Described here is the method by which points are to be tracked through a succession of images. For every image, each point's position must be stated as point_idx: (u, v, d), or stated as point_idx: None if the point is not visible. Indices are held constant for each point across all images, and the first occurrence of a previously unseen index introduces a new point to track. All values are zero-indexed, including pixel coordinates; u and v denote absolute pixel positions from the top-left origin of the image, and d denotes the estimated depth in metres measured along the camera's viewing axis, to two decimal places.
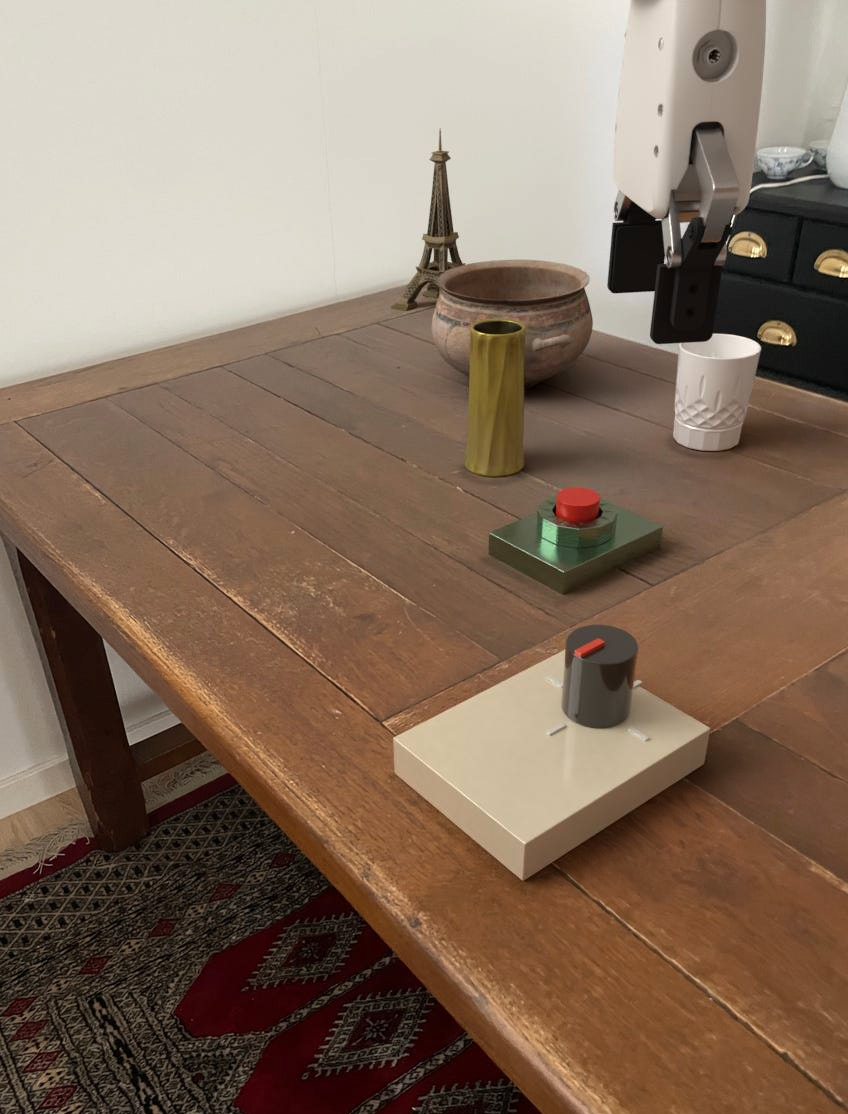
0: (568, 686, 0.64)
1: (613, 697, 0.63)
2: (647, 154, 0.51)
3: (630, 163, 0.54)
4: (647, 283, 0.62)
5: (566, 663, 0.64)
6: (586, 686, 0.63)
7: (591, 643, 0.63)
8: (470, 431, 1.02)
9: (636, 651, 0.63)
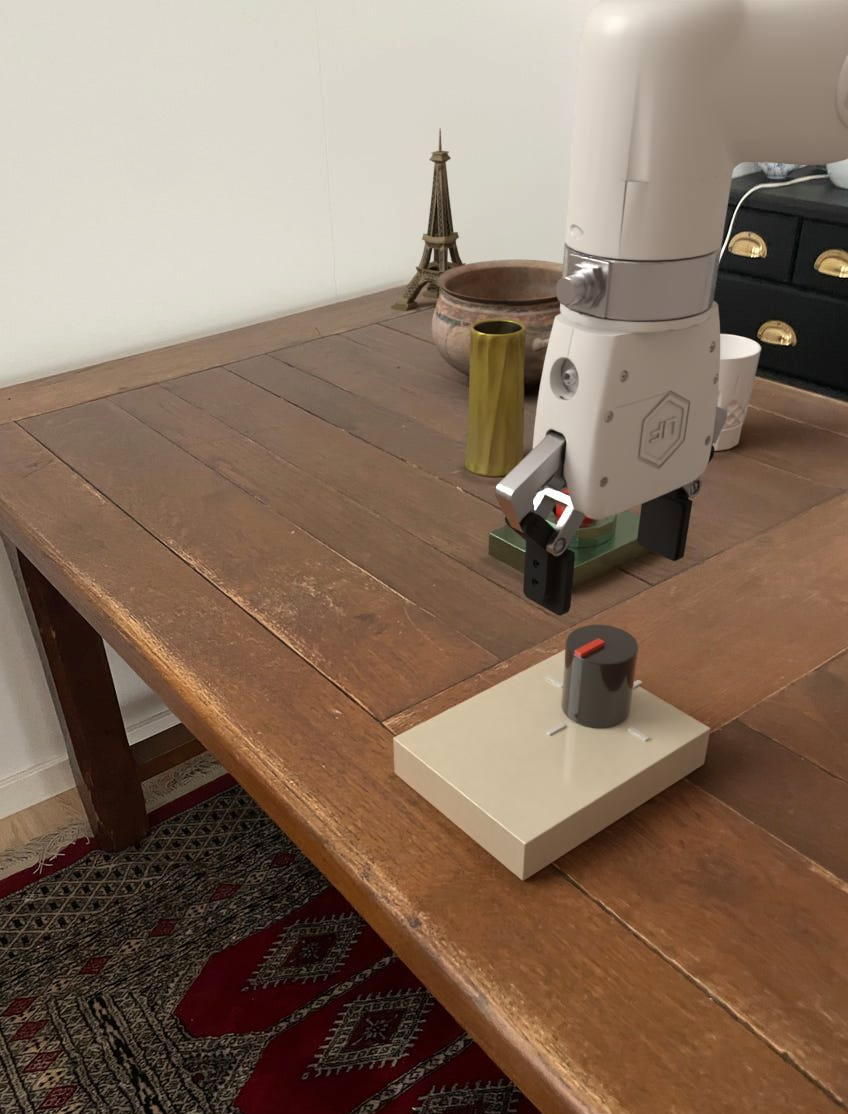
0: (568, 686, 0.64)
1: (613, 697, 0.63)
2: None
3: None
4: (664, 550, 0.62)
5: (566, 663, 0.64)
6: (586, 686, 0.63)
7: (591, 643, 0.63)
8: (470, 431, 1.02)
9: (636, 651, 0.63)
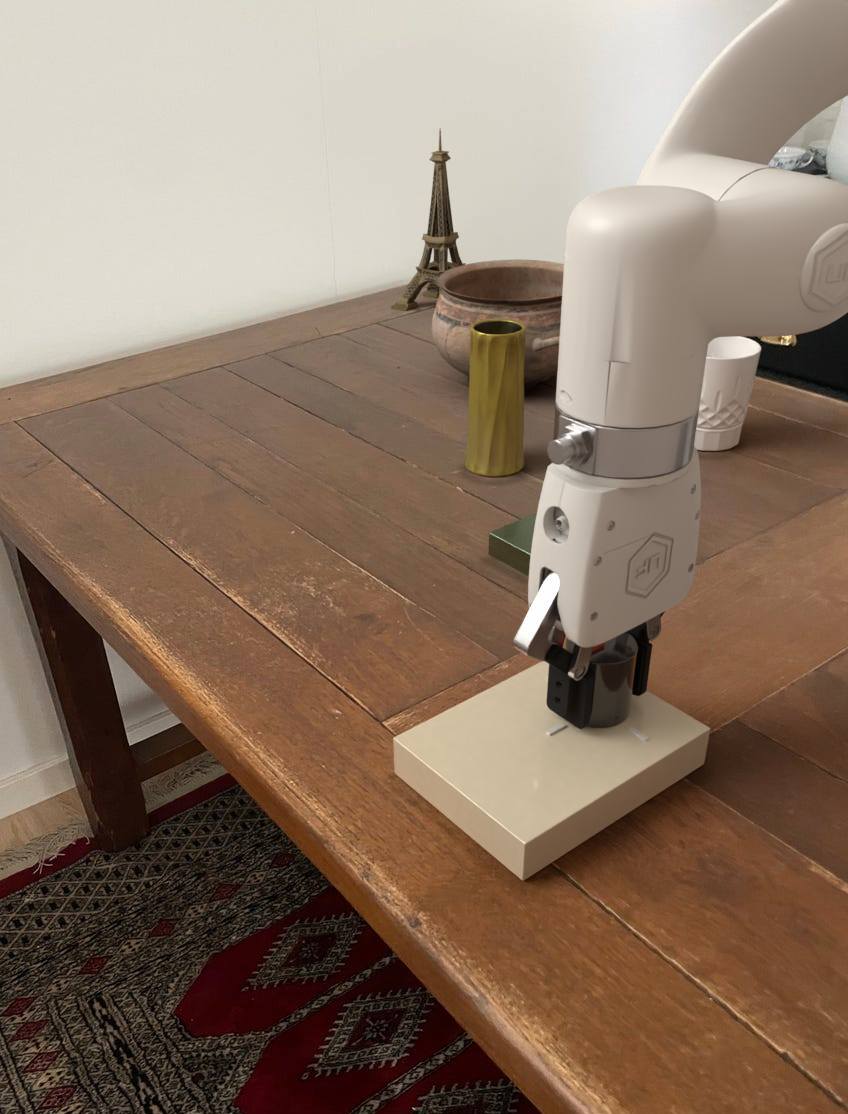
0: None
1: (613, 697, 0.63)
2: None
3: None
4: None
5: None
6: None
7: None
8: (470, 431, 1.02)
9: (636, 651, 0.63)
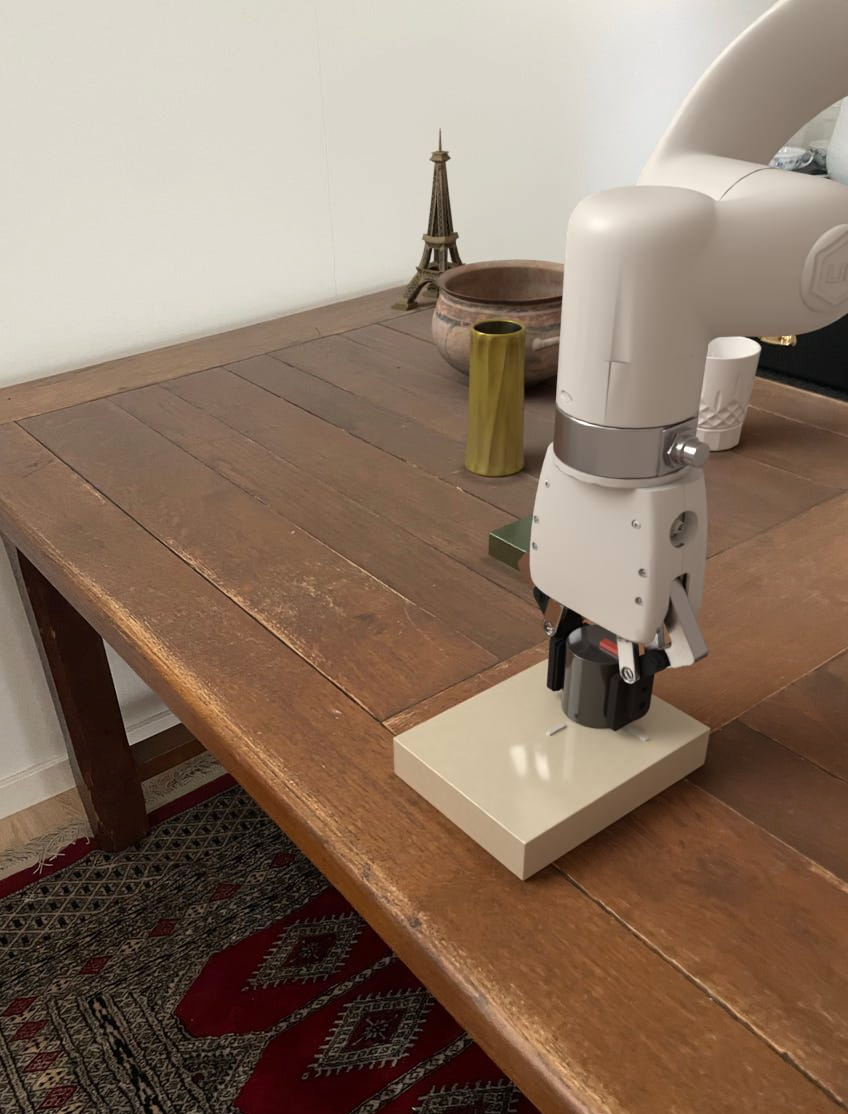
0: None
1: None
2: (622, 599, 0.57)
3: (583, 592, 0.60)
4: None
5: None
6: None
7: (611, 645, 0.63)
8: (470, 431, 1.02)
9: None
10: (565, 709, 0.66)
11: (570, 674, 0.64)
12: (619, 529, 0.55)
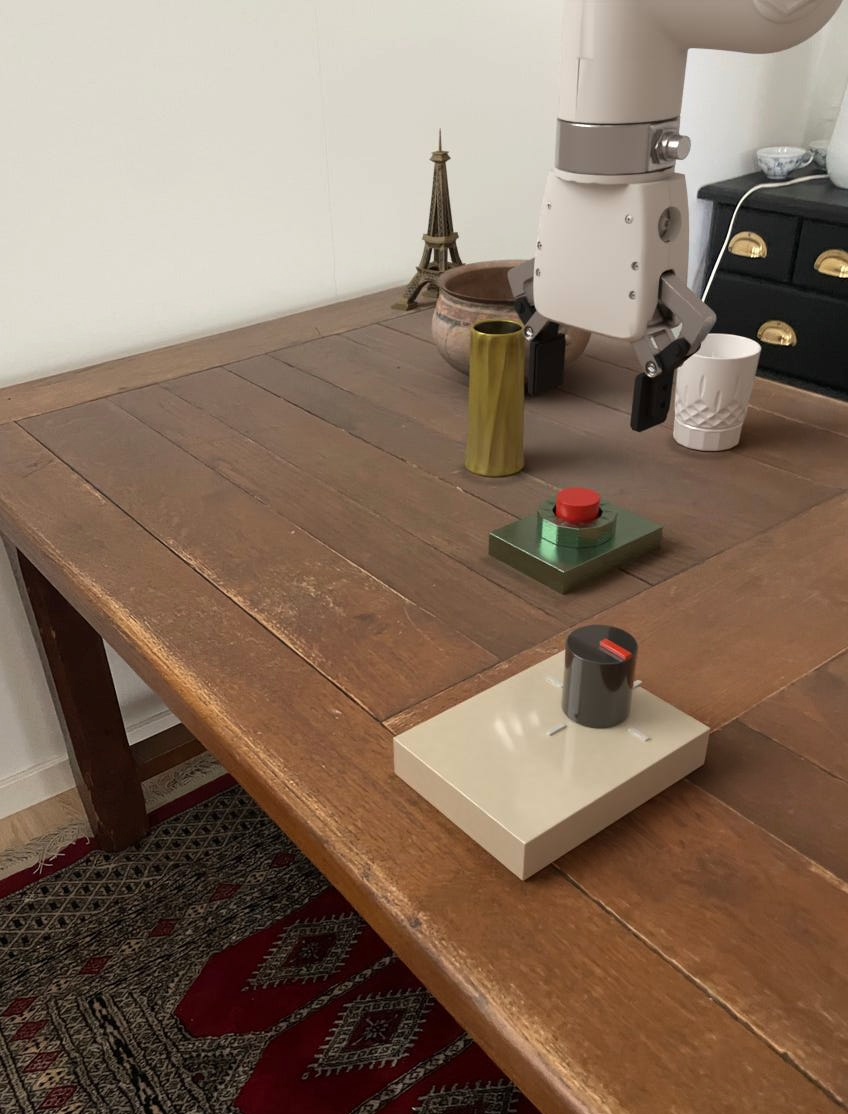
0: (616, 697, 0.63)
1: None
2: (617, 297, 0.66)
3: (583, 302, 0.68)
4: (556, 383, 0.77)
5: (611, 679, 0.62)
6: (632, 678, 0.64)
7: (611, 645, 0.63)
8: (470, 431, 1.02)
9: (611, 626, 0.65)
10: (565, 709, 0.66)
11: (570, 674, 0.64)
12: (614, 228, 0.64)
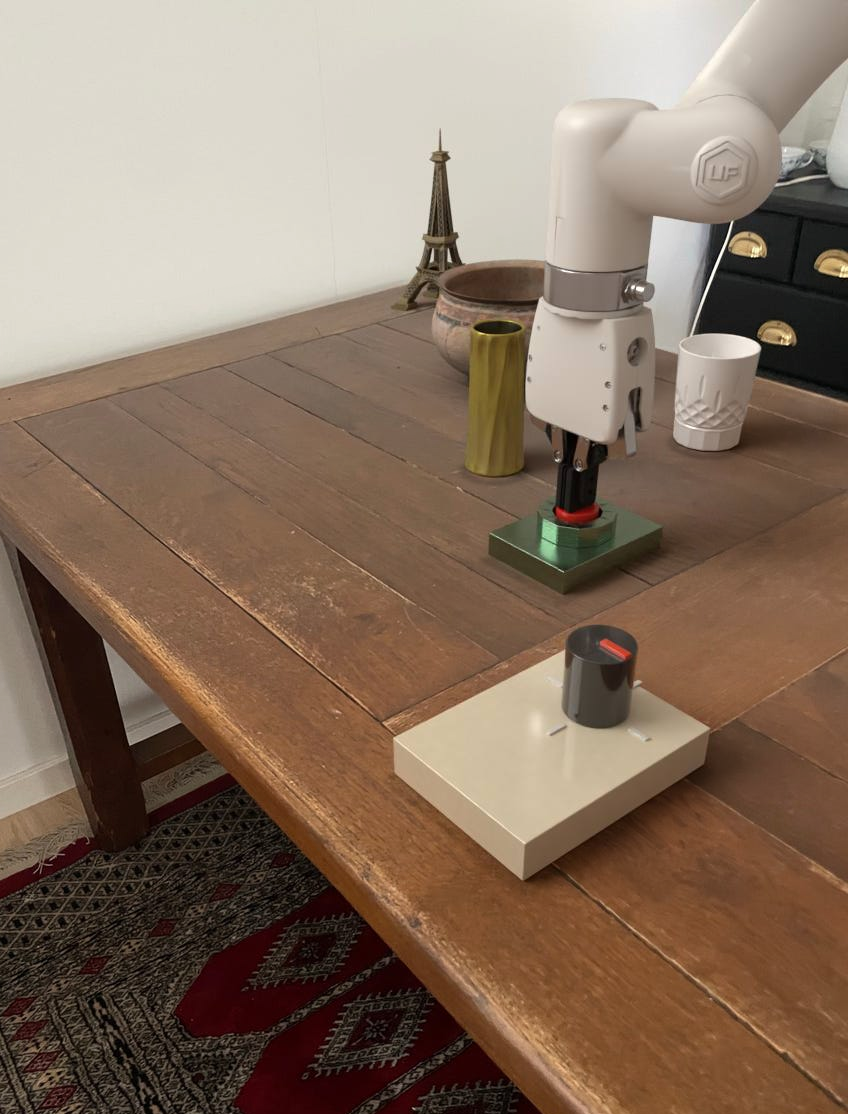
0: (616, 697, 0.63)
1: None
2: (593, 408, 0.78)
3: (565, 408, 0.81)
4: None
5: (611, 679, 0.62)
6: (632, 678, 0.64)
7: (611, 645, 0.63)
8: (470, 431, 1.02)
9: (611, 626, 0.65)
10: (565, 709, 0.66)
11: (570, 674, 0.64)
12: (591, 353, 0.76)
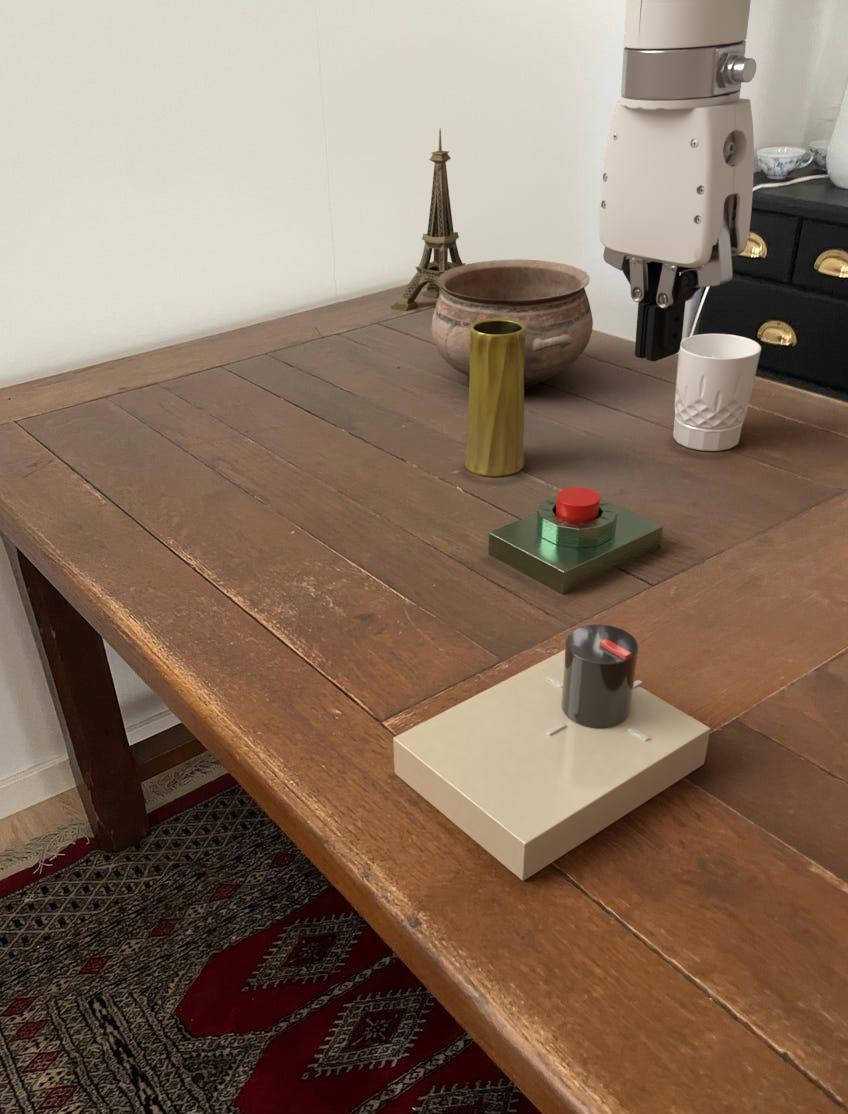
0: (616, 697, 0.63)
1: None
2: (682, 222, 0.68)
3: (648, 230, 0.70)
4: None
5: (611, 679, 0.62)
6: (632, 678, 0.64)
7: (611, 645, 0.63)
8: (470, 431, 1.02)
9: (611, 626, 0.65)
10: (565, 709, 0.66)
11: (570, 674, 0.64)
12: (679, 153, 0.66)
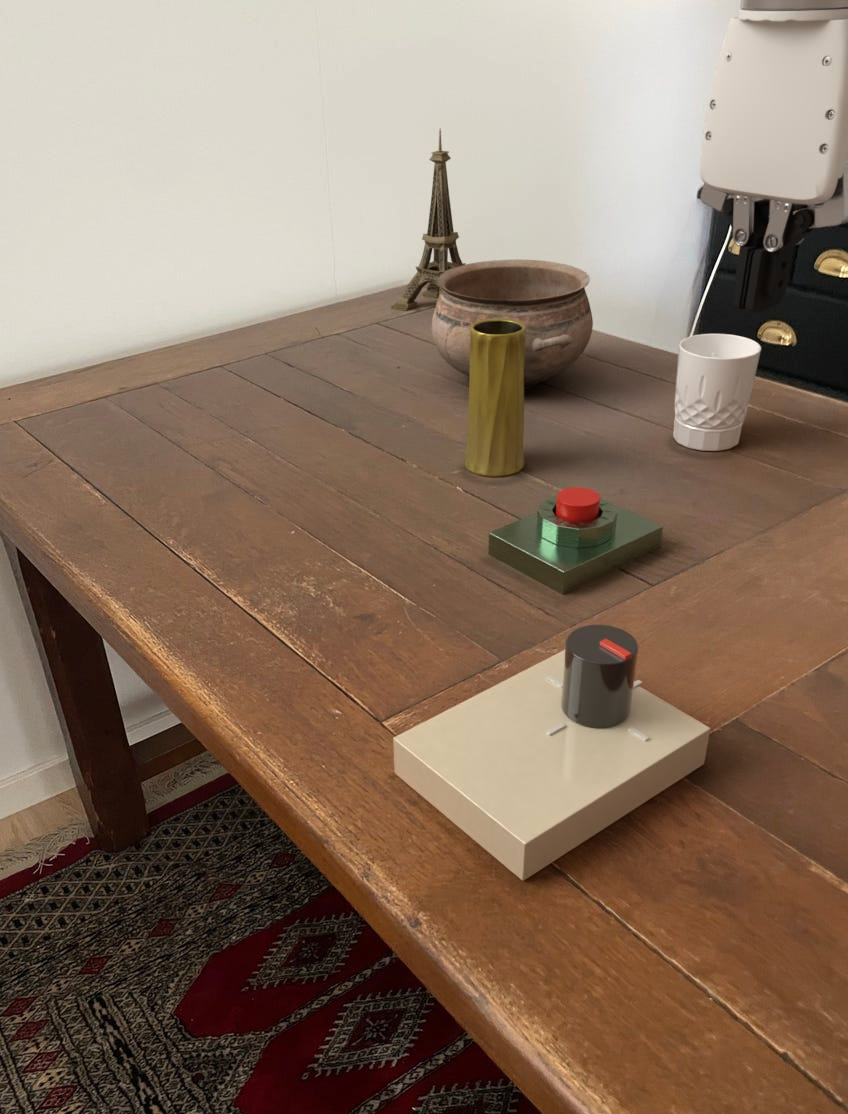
0: (616, 697, 0.63)
1: None
2: (805, 152, 0.61)
3: (761, 163, 0.63)
4: None
5: (611, 679, 0.62)
6: (632, 678, 0.64)
7: (611, 645, 0.63)
8: (470, 431, 1.02)
9: (611, 626, 0.65)
10: (565, 709, 0.66)
11: (570, 674, 0.64)
12: (808, 72, 0.59)
